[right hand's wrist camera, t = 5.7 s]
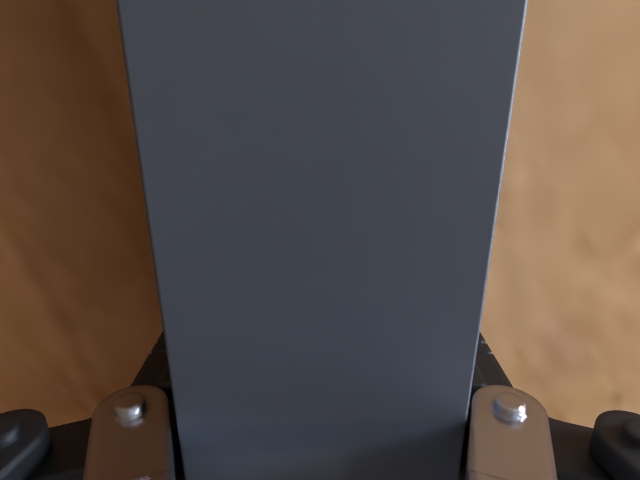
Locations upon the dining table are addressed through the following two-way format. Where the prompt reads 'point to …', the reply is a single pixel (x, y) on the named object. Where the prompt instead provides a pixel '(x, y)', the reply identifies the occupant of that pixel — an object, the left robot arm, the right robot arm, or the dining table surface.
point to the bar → (321, 223)
